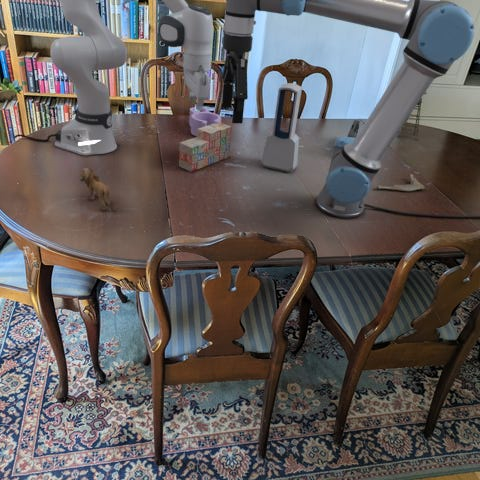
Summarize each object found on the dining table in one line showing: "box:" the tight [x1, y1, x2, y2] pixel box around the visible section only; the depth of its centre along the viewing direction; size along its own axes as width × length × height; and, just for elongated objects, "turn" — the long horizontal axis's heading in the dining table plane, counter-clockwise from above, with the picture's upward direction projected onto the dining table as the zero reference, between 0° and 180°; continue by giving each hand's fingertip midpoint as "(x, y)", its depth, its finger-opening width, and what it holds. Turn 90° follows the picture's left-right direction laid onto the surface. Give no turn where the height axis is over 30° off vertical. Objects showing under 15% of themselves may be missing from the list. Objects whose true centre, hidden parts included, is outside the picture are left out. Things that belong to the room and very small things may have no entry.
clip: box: [188, 107, 222, 137], centre depth 199 cm, size 20×12×7 cm, turn 23°
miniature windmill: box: [398, 91, 428, 140], centre depth 212 cm, size 9×8×30 cm
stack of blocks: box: [178, 122, 233, 173], centre depth 170 cm, size 21×6×12 cm, turn 142°
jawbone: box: [376, 173, 426, 193], centre depth 169 cm, size 9×20×2 cm, turn 126°
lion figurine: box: [77, 167, 116, 211], centre depth 139 cm, size 15×5×9 cm, turn 50°
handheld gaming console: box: [346, 119, 361, 138], centre depth 194 cm, size 23×3×10 cm, turn 161°
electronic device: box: [260, 82, 303, 173], centre depth 167 cm, size 12×8×30 cm, turn 71°
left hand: (195, 105), depth 156 cm, fingers open, 8 cm apart
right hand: (231, 114), depth 132 cm, fingers open, 13 cm apart
